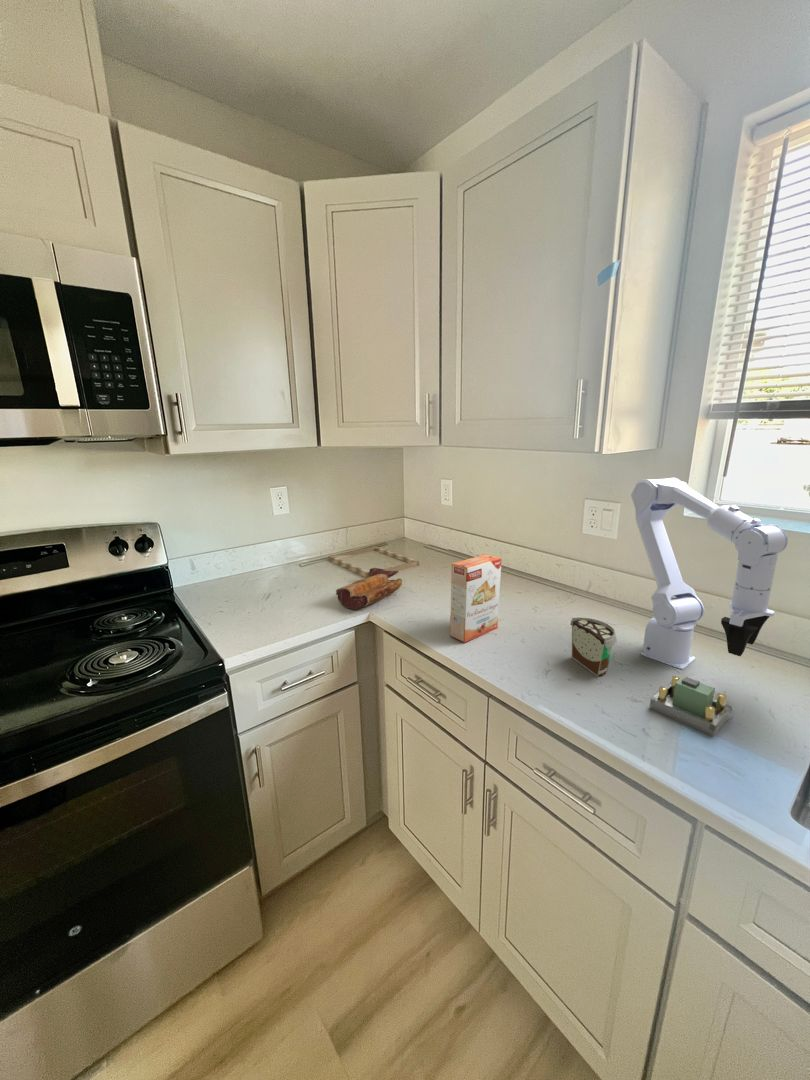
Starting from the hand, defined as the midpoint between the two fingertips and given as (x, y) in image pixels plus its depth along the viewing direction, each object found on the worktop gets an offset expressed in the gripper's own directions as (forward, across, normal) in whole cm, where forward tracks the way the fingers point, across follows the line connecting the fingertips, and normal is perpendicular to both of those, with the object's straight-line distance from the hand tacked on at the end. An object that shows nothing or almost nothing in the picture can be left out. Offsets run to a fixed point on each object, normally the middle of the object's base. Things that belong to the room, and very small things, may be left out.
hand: (740, 648), depth 91 cm
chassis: (+10, -15, +3) cm, 18 cm away
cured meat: (+3, -27, +94) cm, 98 cm away
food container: (+10, -12, +24) cm, 29 cm away
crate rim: (+10, -7, +124) cm, 125 cm away
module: (+9, -15, +3) cm, 18 cm away
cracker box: (+10, -21, +54) cm, 59 cm away
